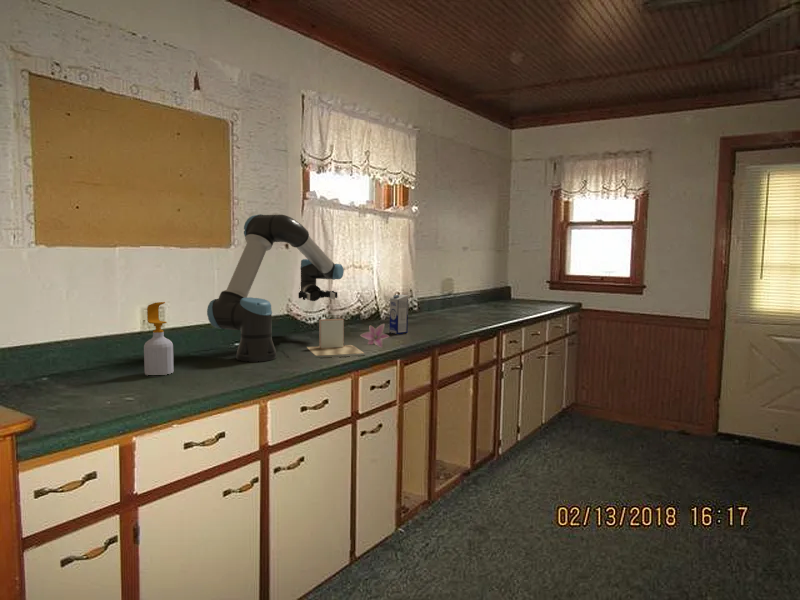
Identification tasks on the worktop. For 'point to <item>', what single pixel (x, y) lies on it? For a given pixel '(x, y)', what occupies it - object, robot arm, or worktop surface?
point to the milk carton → (399, 314)
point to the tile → (331, 333)
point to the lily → (375, 335)
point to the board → (335, 351)
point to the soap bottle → (157, 346)
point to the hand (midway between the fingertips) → (321, 296)
